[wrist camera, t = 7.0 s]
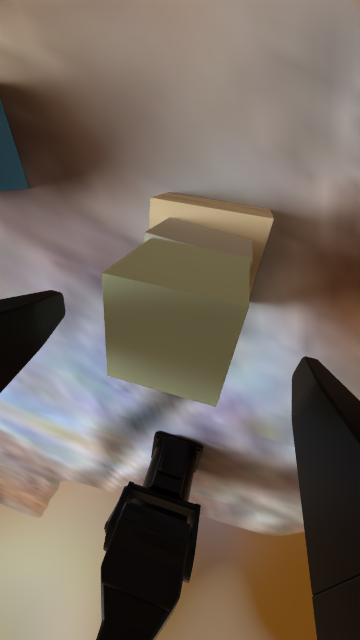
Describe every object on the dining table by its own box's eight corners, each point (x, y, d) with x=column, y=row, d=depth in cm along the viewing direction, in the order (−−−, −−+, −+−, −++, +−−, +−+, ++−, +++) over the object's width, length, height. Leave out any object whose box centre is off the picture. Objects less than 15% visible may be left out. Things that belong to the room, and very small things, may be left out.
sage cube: (226, 338, 13) (215, 406, 9) (146, 319, 14) (107, 375, 10) (249, 257, 11) (249, 306, 7) (151, 237, 11) (101, 272, 8)
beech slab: (242, 299, 20) (240, 325, 17) (161, 281, 21) (145, 302, 18) (269, 208, 16) (274, 218, 13) (169, 191, 17) (150, 197, 14)
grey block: (226, 311, 17) (220, 347, 14) (157, 291, 17) (134, 320, 14) (252, 239, 14) (252, 261, 11) (169, 217, 14) (144, 232, 11)
